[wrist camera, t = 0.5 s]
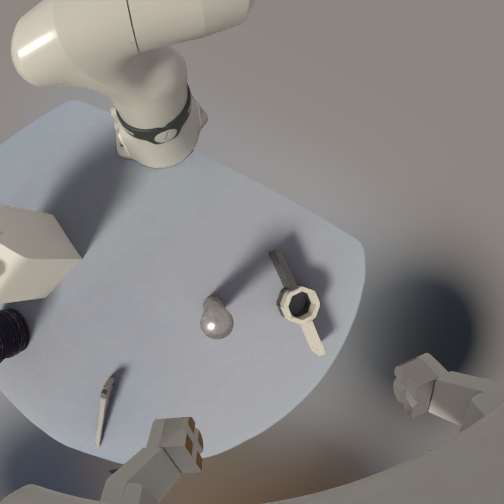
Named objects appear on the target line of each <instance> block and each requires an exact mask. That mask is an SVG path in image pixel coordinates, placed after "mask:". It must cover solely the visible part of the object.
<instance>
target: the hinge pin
mask: <svg viewBox="0 0 504 504" xmlns="http://www.w3.org/2000/svg"><path fill="white" fill-rule="evenodd" d="M200 325H201V329H202V331H203V333H204V334H205V335H206V336H208V337H209V338H212V339H222V338H224V337H226V336H228V335H229V334H230V332H231V331H232V329H233V318H232V316H231V314H230V312H229V311H228V310H226V309H225V307H224V305H223V303H222V301H221V300H220V299H219V298H218V297H216V296H211V297H208V298H207V299H206V300H205V301H204V304H203V314H202V317H201V321H200Z"/></svg>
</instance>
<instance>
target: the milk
mask: <svg viewBox="0 0 504 504" xmlns="http://www.w3.org/2000/svg"><path fill="white" fill-rule="evenodd" d="M81 260H82V258H81V256H80V255H79V254H78V252H77V251H76V249H75V248H74V246H73V245H72V243H71V242H70V240H69V239H68V237H67V236H66V234H65V233H64V231H63V230H62V228H61V226H60V225H59V223H58V222H57V220H56V219H55V217H54V215H53V214H48V213H42V212H37V211H32V210H27V209H21V208H16V207H11V206H6V205H0V304H2V303H10V302H17V301H25V300H32V299H39V298H46V297H47V296H48V295H49V294H50V293H51V292H52V290H53V289H54V288H55V287H56V286H57V285H58V284H59V283H60V282H61V281H62V280H63V279H64V278H65V276H66V275H67V274H68V273H69V272H70V271H71V270H72V269H73V268H74V267H75V266H76V265H77V264H78V263H79V262H80V261H81Z"/></svg>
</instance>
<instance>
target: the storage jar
mask: <svg viewBox="0 0 504 504" xmlns="http://www.w3.org/2000/svg"><path fill="white" fill-rule="evenodd" d="M29 338H30V335H29V329H28V325H27V323H26V321H25V319H24V317H23V316H22V315H21V314H20V313H19V312H18V311H17V310H14V309H6V310H0V363H1V362H2V361H3V359H5V358H10V357H13V356H15V355H17V354H18V353H20V352H21V351H23V350H25V349H26V348H27V346H28V344H29Z"/></svg>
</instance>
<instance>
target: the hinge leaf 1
mask: <svg viewBox="0 0 504 504" xmlns="http://www.w3.org/2000/svg"><path fill="white" fill-rule="evenodd" d="M269 254H270V257H271V259H272V261H273V264H274V266H275V268H276V270H277V273H278V275H279V277H280V279H281V282H282V284H283V286H284V289H282V291H281V292H280V295H279V297H278V300H277V306H278V308H279V311H280V313H281V315H282V316H283V317H285V316H284V314H283V312H282V310H281V307H280V306H281V305H280V303H281V300H282V298H283V295H284V292H285V291H287V290H290V291H293V292H294V290H296V289H297V290H298V285H297V284H296V281H295V279H294V277H293V274H292V272H291V270H290V268H289V265H288V263H287V261H286V258H285V256H284V254H283V252H282V250H274V251H272V252H270V253H269ZM285 293H286V292H285ZM303 294H304V296H305V298H306V304H305V307H304V309H303V311H301V312H300V313H298V314H296V315H292V314H291V315H292V316H294V317H297V318H299V317H301V316H302V315H304V314H306V313H308V310H309V307H310V305H311V301H310V299H309V296H308V294H307V293H305V292H303Z"/></svg>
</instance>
